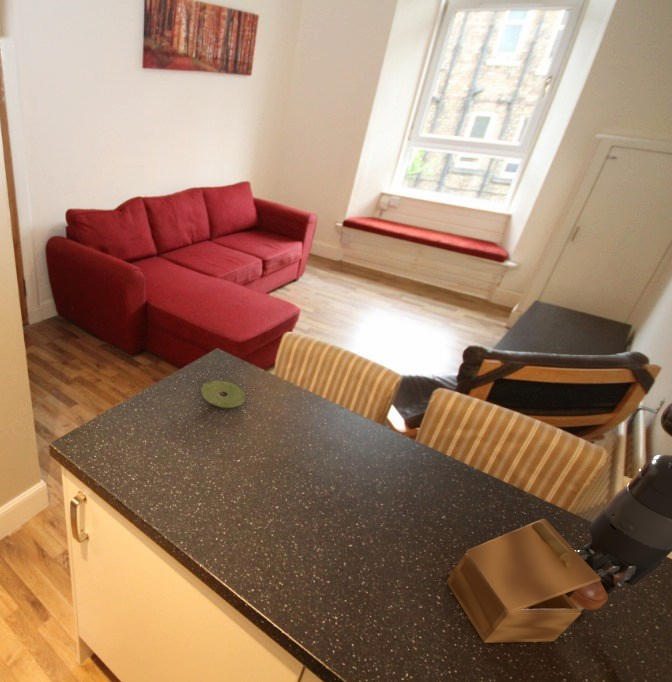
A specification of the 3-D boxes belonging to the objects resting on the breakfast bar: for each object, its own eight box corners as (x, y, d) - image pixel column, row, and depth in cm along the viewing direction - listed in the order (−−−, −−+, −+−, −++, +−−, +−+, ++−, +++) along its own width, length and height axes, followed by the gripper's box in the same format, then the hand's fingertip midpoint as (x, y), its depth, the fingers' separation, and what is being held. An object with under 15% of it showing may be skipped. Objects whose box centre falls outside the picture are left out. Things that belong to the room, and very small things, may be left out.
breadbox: (508, 581, 76) (531, 553, 72) (554, 641, 68) (582, 613, 64) (445, 581, 75) (464, 553, 71) (483, 642, 67) (508, 614, 63)
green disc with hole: (206, 382, 120) (207, 376, 119) (247, 392, 117) (248, 386, 116) (195, 406, 111) (196, 399, 110) (240, 418, 108) (241, 411, 107)
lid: (545, 520, 68) (538, 503, 65) (601, 580, 59) (595, 563, 57) (466, 552, 71) (457, 537, 69) (509, 613, 63) (501, 598, 60)
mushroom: (578, 595, 73) (604, 567, 69) (594, 628, 68) (623, 601, 65) (538, 582, 74) (562, 555, 71) (552, 615, 70) (578, 587, 66)
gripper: (660, 502, 65) (595, 571, 74) (570, 501, 64) (514, 572, 73) (718, 548, 59) (640, 618, 67) (619, 548, 58) (552, 620, 66)
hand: (575, 594), depth 70 cm, fingers closed on mushroom, 5 cm apart
